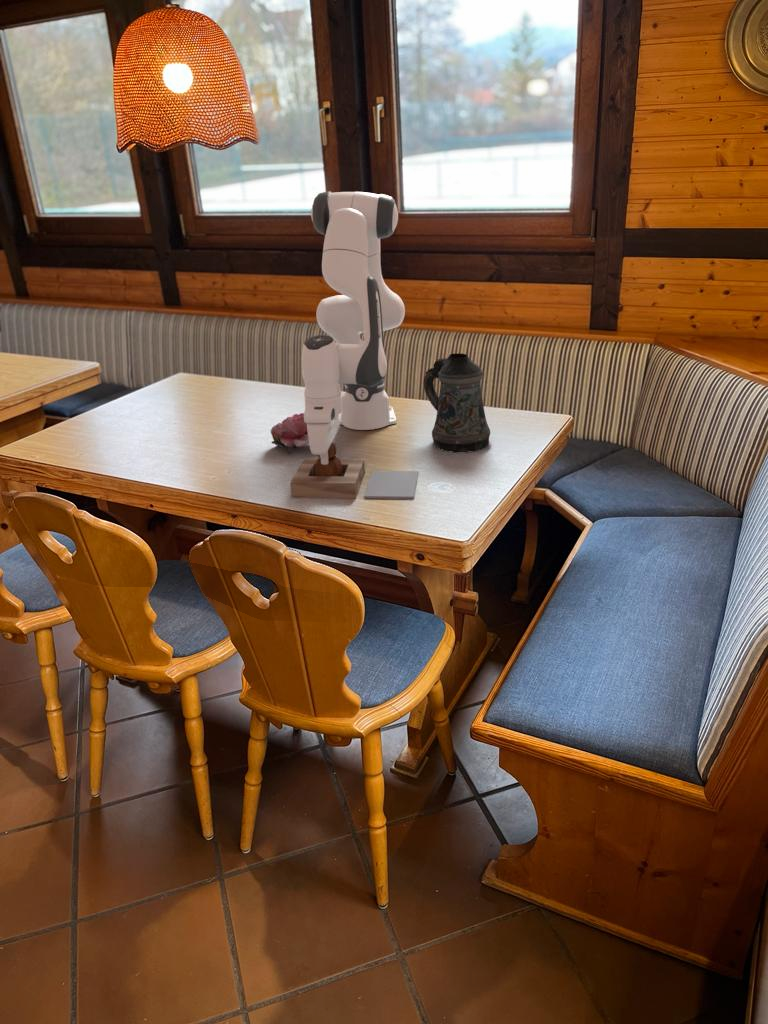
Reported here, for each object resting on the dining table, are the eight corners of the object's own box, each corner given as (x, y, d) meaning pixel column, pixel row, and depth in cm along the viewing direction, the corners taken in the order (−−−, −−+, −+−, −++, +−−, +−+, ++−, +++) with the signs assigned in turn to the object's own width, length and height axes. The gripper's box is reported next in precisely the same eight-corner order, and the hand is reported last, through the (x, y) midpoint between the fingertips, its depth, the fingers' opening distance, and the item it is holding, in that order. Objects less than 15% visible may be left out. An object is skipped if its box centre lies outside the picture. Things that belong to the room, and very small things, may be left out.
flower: (332, 431, 219) (318, 400, 215) (315, 455, 207) (300, 423, 203) (288, 441, 225) (275, 412, 221) (269, 465, 213) (255, 435, 209)
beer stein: (487, 454, 206) (489, 363, 195) (417, 451, 210) (415, 363, 199) (492, 433, 220) (494, 348, 210) (426, 431, 224) (425, 348, 213)
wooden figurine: (330, 478, 195) (326, 422, 188) (347, 483, 191) (343, 426, 185) (312, 486, 190) (307, 430, 184) (328, 491, 187) (324, 434, 180)
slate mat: (372, 472, 197) (372, 470, 197) (418, 473, 195) (418, 471, 195) (364, 498, 182) (364, 496, 182) (413, 498, 181) (413, 496, 181)
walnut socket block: (305, 472, 199) (303, 458, 197) (365, 472, 197) (364, 458, 195) (291, 497, 185) (290, 482, 183) (356, 498, 183) (355, 483, 181)
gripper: (318, 392, 192) (322, 443, 197) (302, 418, 173) (307, 474, 179) (343, 392, 191) (346, 443, 197) (329, 418, 172) (333, 474, 178)
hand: (327, 458), depth 188 cm, fingers closed on wooden figurine, 5 cm apart
